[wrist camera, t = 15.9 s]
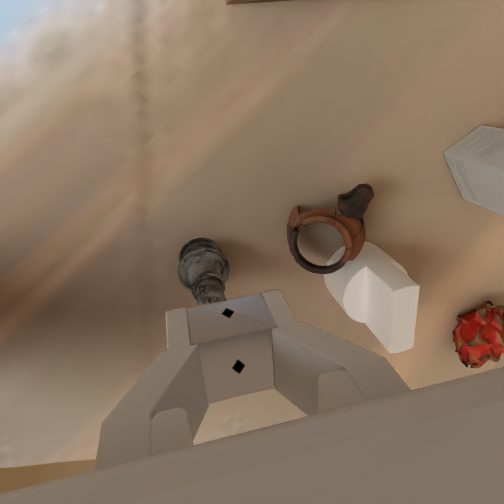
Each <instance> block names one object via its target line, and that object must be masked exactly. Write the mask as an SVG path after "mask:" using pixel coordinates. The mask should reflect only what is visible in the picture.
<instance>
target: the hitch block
mask: <svg viewBox="0 0 504 504" xmlns="http://www.w3.org/2000/svg"><path fill="white" fill-rule="evenodd" d="M273 1H289V0H226V4H241V3H257V2H273Z"/></svg>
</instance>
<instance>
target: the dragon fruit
mask: <svg viewBox="0 0 504 504" xmlns="http://www.w3.org/2000/svg"><path fill="white" fill-rule="evenodd" d="M487 303H489V304H490V305H491V306H492V305H493V304H492V302H490V301H487V302H484V303H483V304H482V305H481V306H480V308H479V309H473V310H472V311H471V312H472V313H470V314H467V315H462V316H460V317H458V316H459V315H458V316H457V320H458V322H460V321H461V324H460V325H459V326H458V327H457V328H456V329H455V330H454V331H453V341H454V342H455V345H456V350H455V352H458V355H459V358H460V361H461V362H462V363H463V364H465V366H466V367H468V365H471V367H472V368H479V367H481V366H482V365H483V364H484V363H485V362H486V361H487V360H492V361H494V362H498V361H499V359H500V356H501V354H502V353H504V306H496V307H495V308H492V309H491V308H488V307H487V306H486V305H487ZM493 306H494V305H493Z"/></svg>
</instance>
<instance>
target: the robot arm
mask: <svg viewBox="0 0 504 504" xmlns="http://www.w3.org/2000/svg"><path fill="white" fill-rule="evenodd" d="M186 309H187V310H186ZM166 335H167V351H162V352H161V353H160V354H159V355H158V356H157V358H156V359H155V360H154V361H153V362H152V364H151V365H150V366H149V367H148V368H147V370H146V371H145V372H144V373H143V374H142V376H141V377H140V378H139V379H138V381H137V382H136V383H135V384H134V385H133V387H132V388H131V389H130V390H129V391H128V393H127V394H126V395H125V396H124V397H123V399H122V400H121V401H120V402H119V403H118V405H117V406H116V407H115V408H114V409H113V411H112V412H111V413H110V414H109V415H108V417H107V418H106V419H105V420H104V421H103V423H102V425H101V432H100V439H99V445H98V452H97V458H96V465H95V470H94V471H90V472H86V473H82V474H78V475H74V476H71V477H66V478H62V479H58V480H54V481H50V482H46V483H42V484H38V485H34V486H30V487H27V488H23V489H19V490H15V491H11V492H7V493H3V494H0V504H504V367H501V368H498V369H493V370H489V371H486V372H482V373H478V374H474V375H470V376H466V377H462V378H458V379H454V380H450V381H446V382H442V383H438V384H434V385H430V386H426V387H423V388H419V389H415V390H410V388H409V387H408V386H407V385H406V383H405V382H404V381H403V380H402V378H401V377H400V376H399V375H398V373H397V372H396V371H395V370H394V368H393V367H392V366H391V365H390V363H389V362H388V361H387V360H386V358H384V357H382V356H380V355H377V354H375V353H373V352H371V351H368V350H366V349H364V348H362V347H359V346H357V345H355V344H353V343H350V342H348V341H346V340H344V339H341V338H339V337H337V336H335V335H332V334H330V333H328V332H326V331H323V330H321V329H319V328H317V327H314V326H312V325H310V324H308V323H305V322H301V323H299V322H298V321H297V319H296V317H295V315H294V314H293V312H292V310H291V308H290V307H289V305H288V303H287V302H286V300H285V298H284V296H283V295H282V293H281V291H280V290H278V289H276V290H272V291H267V292H263V293H259V294H255V295H250V296H246V297H241V298H236V299H232V300H227V301H218V302H213V303H207V304H201V305H195V306H189V307H186V308H185V307H183V308H178V309H173V310H168V311H166ZM273 388H275V389H276V390H277V391H278V392H279V393H281V394H282V395H283V396H284V397H286V398H287V399H288V400H289V401H291V402H292V403H293V404H294V405H296V406H297V407H298V408H299V409H301V410H302V411H303V412H304V413H306V414H307V415H308V416H307V417H303V418H299V419H296V420H292V421H288V422H284V423H280V424H276V425H272V426H268V427H264V428H260V429H256V430H252V431H248V432H244V433H241V434H237V435H233V436H229V437H225V438H221V439H217V440H213V441H209V442H205V443H201V444H197V445H193V439H194V437H195V435H196V433H197V431H198V428H199V426H200V424H201V422H202V420H203V417H204V415H205V413H206V411H207V408H208V406H209V405H208V404H210V403H213V402H217V401H221V400H225V399H229V398H232V397H236V396H240V395H244V394H249V393H254V392H259V391H264V390H268V389H273Z"/></svg>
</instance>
